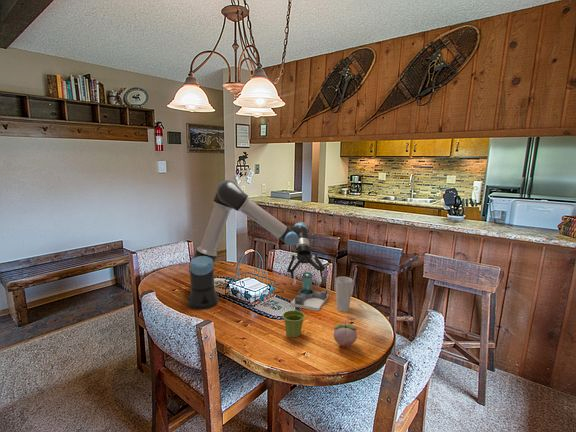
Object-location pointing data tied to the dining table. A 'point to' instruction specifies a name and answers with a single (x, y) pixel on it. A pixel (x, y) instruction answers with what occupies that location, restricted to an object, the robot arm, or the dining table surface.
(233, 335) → the dining table surface
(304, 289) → the cylinder
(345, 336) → the decorative fruit
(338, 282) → the cup
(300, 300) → the shaft board
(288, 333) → the plant pot
